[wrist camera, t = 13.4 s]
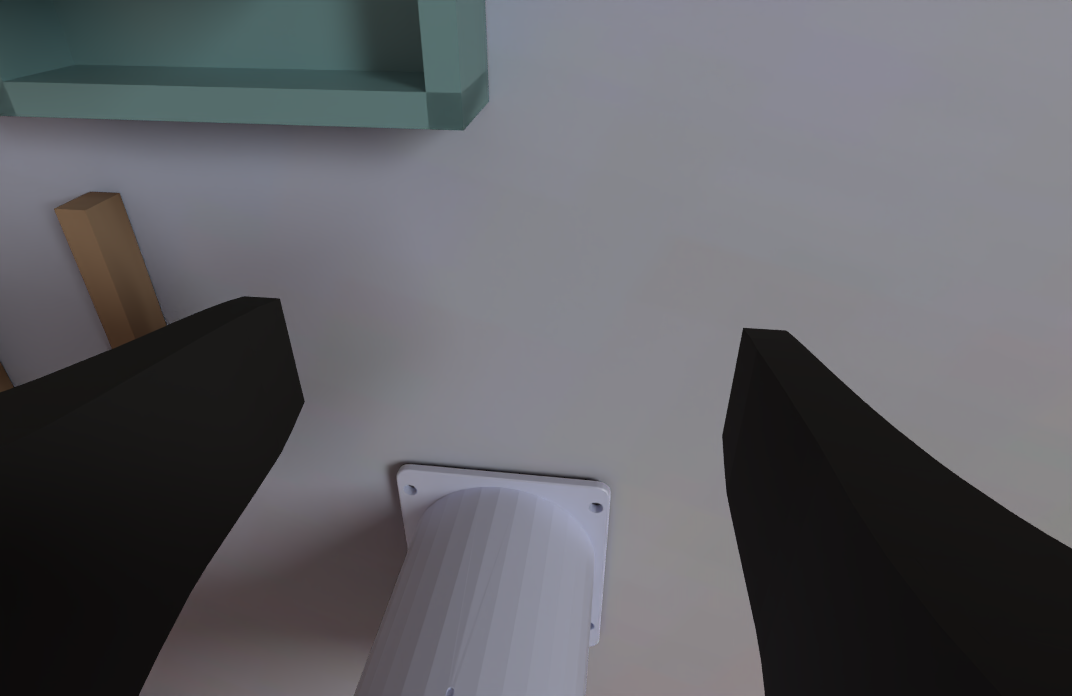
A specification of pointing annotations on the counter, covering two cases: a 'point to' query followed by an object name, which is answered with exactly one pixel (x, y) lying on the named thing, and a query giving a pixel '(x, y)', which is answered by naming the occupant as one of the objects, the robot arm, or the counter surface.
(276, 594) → the counter surface
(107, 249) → the bay
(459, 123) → the tray
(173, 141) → the counter surface
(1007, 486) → the counter surface
